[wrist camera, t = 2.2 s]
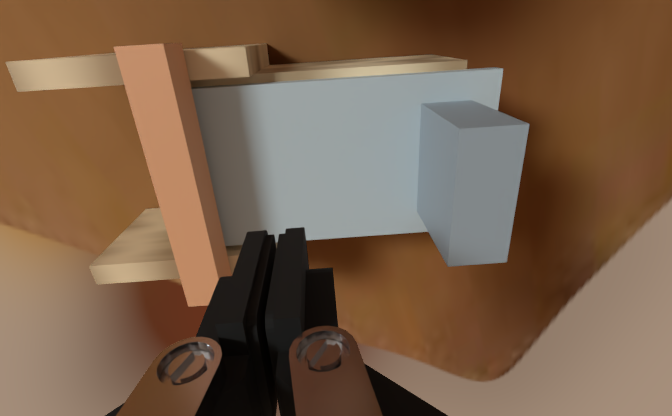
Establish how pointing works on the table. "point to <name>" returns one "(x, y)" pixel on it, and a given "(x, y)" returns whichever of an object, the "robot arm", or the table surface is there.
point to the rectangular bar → (176, 163)
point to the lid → (368, 159)
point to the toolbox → (204, 70)
